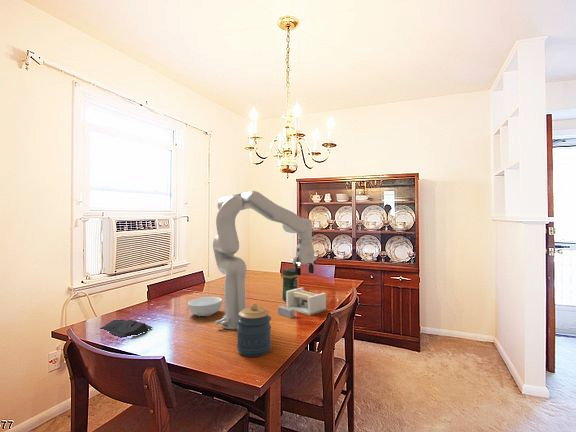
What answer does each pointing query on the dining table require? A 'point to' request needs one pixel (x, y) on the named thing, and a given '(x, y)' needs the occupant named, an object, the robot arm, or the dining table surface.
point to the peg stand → (311, 307)
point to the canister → (254, 331)
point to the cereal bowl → (205, 306)
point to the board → (303, 294)
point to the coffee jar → (289, 280)
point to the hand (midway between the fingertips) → (304, 274)
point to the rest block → (286, 311)
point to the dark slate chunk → (125, 328)
